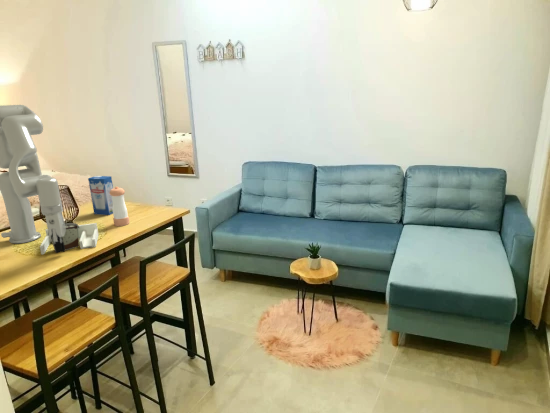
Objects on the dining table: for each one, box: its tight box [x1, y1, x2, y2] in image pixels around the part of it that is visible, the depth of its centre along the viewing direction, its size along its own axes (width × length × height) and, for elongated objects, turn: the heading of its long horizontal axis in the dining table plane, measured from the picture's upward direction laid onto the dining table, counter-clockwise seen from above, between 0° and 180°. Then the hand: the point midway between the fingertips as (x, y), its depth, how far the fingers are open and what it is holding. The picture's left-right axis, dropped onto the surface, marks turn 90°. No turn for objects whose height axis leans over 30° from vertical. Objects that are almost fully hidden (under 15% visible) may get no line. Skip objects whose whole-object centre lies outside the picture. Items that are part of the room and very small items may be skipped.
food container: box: [48, 222, 80, 253], centre depth 174 cm, size 12×6×10 cm, turn 131°
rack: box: [39, 222, 99, 255], centre depth 178 cm, size 21×16×6 cm
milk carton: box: [87, 175, 114, 216], centre depth 221 cm, size 10×6×20 cm, turn 73°
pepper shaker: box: [110, 186, 130, 227], centre depth 202 cm, size 7×7×19 cm
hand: (60, 251), depth 167 cm, fingers closed
